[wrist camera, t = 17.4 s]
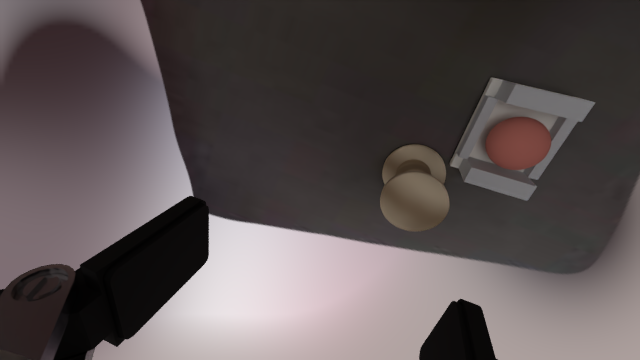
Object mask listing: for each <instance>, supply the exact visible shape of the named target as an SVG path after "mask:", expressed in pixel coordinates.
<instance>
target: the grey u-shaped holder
mask: <svg viewBox="0 0 640 360" xmlns="http://www.w3.org/2000/svg"><path fill="white" fill-rule="evenodd" d="M594 104H595V102H592V101H588V100H584V99H581V98H577V97H573V96H569V95H565V94H560V93H556V92H552V91H547V90H543V89H539V88H535V87H530V86H526V85H522V84H518V83H513V82H509V81H505V80H501V79H496V78H492V77H491V78H490V80H489V82H488V84H487V86H486V88H485V90H484V93H483V95H482V97H481V99H480V101H479V103H478V105H477V107H476V109H475V111H474V113H473V115H472V117H471V119H470V121H469V124H468V126H467V128H466V130H465V132H464V134H463V136H462V138H461V140H460V142H459V144H458V146H457V148H456V150H455V152H454V155H453V157H452V159H451V161H450V163H449V164H450V166H452V167H456V168H459V171H460V173H461V176H462V178H463V180H464V182H467V183H470V184H473V185H477V186H480V187H483V188H487V189H490V190H493V191H496V192H500V193H503V194H506V195H509V196H513V197H516V198H519V199H523V200H526V201H528V199H529V198H530V196H531V195H532V193H533V192H534V190H535V189H536V188H537V186H536V185H535V184H534V183H533V182H532V181H531V180H530V178H532V179H536V180H538V179H539V177H540V176H541V174H542V173H543V171H544V170H545V168H546V167H547V166H548V164H549V163H550V161H551V160H552V158H553V157H554V155H555V154H556V152H557V151H558V149H559V148H560V147H561V145H562V144H563V142H564V141H565V139H566V138H567V136H568V135H569V133H570V132H571V130H572V129H573V127H574V126H575V125H576V123H577V122H578V121H580V122H582V121H583V120H584V118H585V117H586V115H587V114H588V112H589V111H590V110H591V108H592V107H593V105H594ZM513 117H529V118H533V119H536V120H538V121H539V122H541V123H542V124H543V125H545V126H546V128H547V129H548V131H549V133H550V135H551V147H550V150H549V152H548V154H547V155H546V157H545V158H544V159H543V160H542V161H541V162H539V163H538V164H536V165H535V166H533V167H530V168H527V169H523V170H509V169H505V168H502V167H500V166H498V165H496V164H495V163H494V162H492V161H491V159H490V158H489V157H488V155H487V152H486V148H485V144H486V139H487V136H488V134H489V132H490V131H491V130H492V129H493V128H494V127H495V126H496V125H497V124H498V123H500V122H502V121H504V120H506V119H509V118H513Z"/></svg>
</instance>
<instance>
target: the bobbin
mask: <svg viewBox="0 0 640 360" xmlns="http://www.w3.org/2000/svg"><path fill="white" fill-rule="evenodd" d="M382 177H383V181H384V184H385V186H384V187H383V190H382V193H381V197H380V206H381V210H382V212H383V214H384V216H385V217H386V219H387V220H388V221H389V222H390V223H392V224H393V225H394V226H396V227H398V228H400V229H403V230H407V231H424V230H428V229H431V228H433V227H435V226H437V225H438V224H439V223H441V222H442V221H443V219H444V218H445V217H446V215H447V213H448V210H449V197H448V193H447V190H446V188H445V186H444V185H443V184H444V182H445V179H446V168H445V164H444V162H443V160H442V158H441V156H440V155H439V154H438V153H437V152H436V151H435V150H433V149H432V148H430V147H427V146H425V145H420V144H409V145H405V146H402V147H399V148H398V149H396V150H394V151H393V152H392V153H391V154H390V155H389V156H388V157H387V159H386V161H385V163H384V166H383V171H382Z"/></svg>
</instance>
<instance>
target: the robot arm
mask: <svg viewBox="0 0 640 360" xmlns="http://www.w3.org/2000/svg"><path fill="white" fill-rule="evenodd" d="M208 215H209V209H208V206H206V202H205V201H203V200H201V199H198V198H196V197H193V196H189V197H187V198H185V199H183V200H182V201H180V202H179V203H177V204H176V205H174V206H172V207H171V208H169V209H168V210H166V211H165V212H163V213H161V214H160V215H158V216H157V217H155V218H153V219H152V220H150V221H149V222H147V223H146V224H144V225H142V226H141V227H139V228H138V229H136V230H134V231H133V232H131V233H130V234H128V235H127V236H125V237H123V238H122V239H120V240H119V241H117V242H116V243H114V244H113V245H111V246H109V247H108V248H106V249H104V250H103V251H101V252H100V253H98V254H97V255H95V256H93V257H92V258H90V259H89V260H87V261H86V262H84V263H82V264H81V265H80V268H79V269H77V270H76V271H74V269H73V268H71V267H70V266H67V265H63V264H51V265H46V266H41V267H38V268H35V269H32V270H30V271H28V272H26V273H24V274H22V275H20V276H19V277H17V278H16V279H14V280H13V281H12V282H11V283H10V284H9V285H8V286H7V287H6V288H5V289H2V290H0V360H92V357H93V353H94V350H95V347H96V346H97V345H98V344H99V343H100V342H101V341H102V340H105V341H107V342H109V343H111V344H113V345H114V346H116V347H117V346H118V345H120V344H121V343H122V342H123V341H124V340H125V339H129V338H131V337H132V336H134V335H135V334H136V333H137V332H138V331H139V330H140V329H141V327H143V325H145V324H146V323H147V321H149V319H151V318H152V317H153V315H154V314H155V313H156V312H157V311H158V310H159V309H160V308H161V307H162V306H163V305H164V304H165V303H166V302H167V301H168V300H169V299H170V298H171V297H172V296H173V295H174V294H175V293H176V292H177V291H178V290H179V289H180V288H181V287H182V286H183V285H184V284H185V283H186V282H187V281H188V280H189V279H190V278H191V277H192V276H193V275H194V274H195V273H196V272H197V271H198V270H199V269H200V268H201V267H202V266H203V265H204V264H205V263H206V261H207V259H208V255H209V252H208V251H209V250H208V247H209V244H208V243H209V241H208V240H209V239H208V237H209V234H208V233H209V231H208V230H209V216H208ZM419 359H420V360H497V359H496V358H495V355H494V351H493V347H492V344H491V340H490V336H489V333H488V329H487V326H486V322H485V318H484V315H483V311H482V309H481V307H480V306H478V305H476V304H473V303H471V302H468V301H465V300H463V299H460V300H458V301H457V302H455V301H452V302H451V303H450V305H449V306H448V308H447V310H446V311H445V313H444V314H443V315H442V317H441V318H440V320H439V321H438V323H437V324H436V326H435V327H434V329H433V330H432V332H431V333H430V335H429V336H428V338H427V339H426V340H425V342H424V343H423V345H422V347H421V350H420V356H419Z"/></svg>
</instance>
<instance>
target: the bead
mask: <svg viewBox="0 0 640 360" xmlns="http://www.w3.org/2000/svg"><path fill="white" fill-rule="evenodd" d="M550 147H551V135H550V133H549V131H548V129H547V128H546V126H545V125H543V124H542V123H541V122H539V121H538V120H536V119H533V118H529V117H513V118H509V119H506V120H504V121H502V122H500V123H498V124H497V125H496V126H495V127H494V128H493V129H492V130H491V131H490V132H489V134H488V136H487V139H486V144H485V148H486V152H487V155H488V157H489V158H490V159H491V161H492V162H494V163H495V164H496V165H498V166H500V167H502V168H505V169H509V170H523V169H527V168H530V167H533V166H535V165H536V164H538V163H539V162H541V161H542V160H543V159H544V158H545V157H546V155H547V154H548V152H549V150H550Z"/></svg>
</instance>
